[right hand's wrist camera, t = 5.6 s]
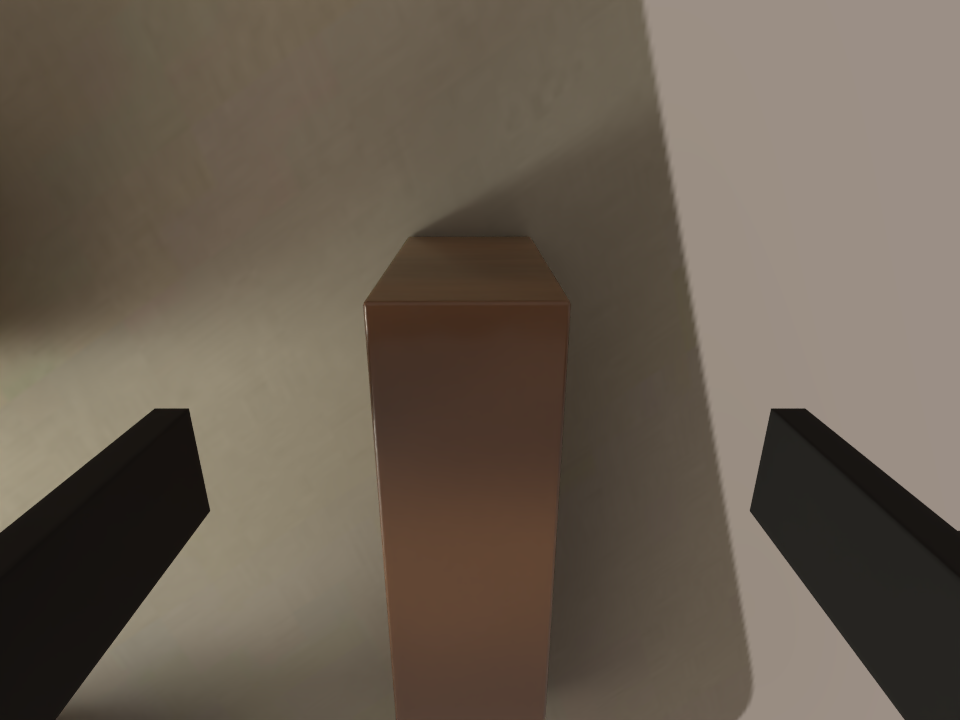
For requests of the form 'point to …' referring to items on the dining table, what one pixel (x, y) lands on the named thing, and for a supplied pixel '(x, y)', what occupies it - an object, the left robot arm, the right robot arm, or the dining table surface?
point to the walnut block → (468, 471)
